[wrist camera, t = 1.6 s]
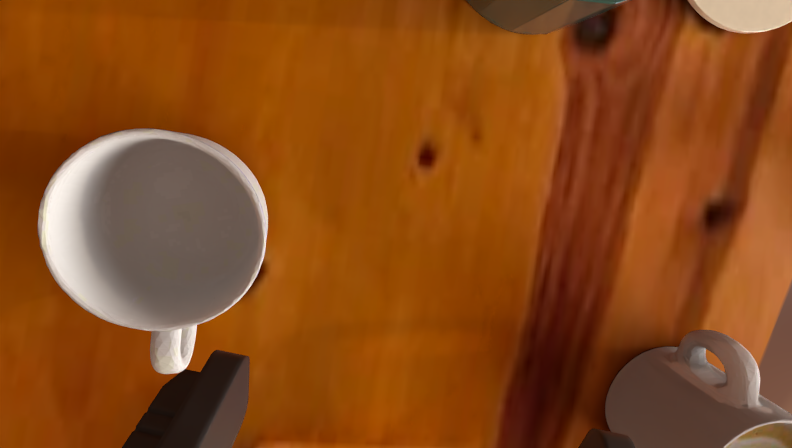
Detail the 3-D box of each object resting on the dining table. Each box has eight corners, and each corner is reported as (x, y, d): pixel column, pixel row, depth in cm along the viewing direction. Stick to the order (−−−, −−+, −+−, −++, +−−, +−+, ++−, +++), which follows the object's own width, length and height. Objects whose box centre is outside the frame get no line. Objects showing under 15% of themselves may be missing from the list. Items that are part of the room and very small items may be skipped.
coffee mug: (692, 452, 41) (803, 551, 32) (592, 447, 40) (677, 550, 30) (735, 313, 39) (869, 375, 29) (631, 302, 37) (737, 364, 28)
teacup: (123, 109, 29) (48, 104, 21) (294, 150, 31) (282, 157, 23) (95, 311, 31) (19, 372, 24) (256, 337, 33) (233, 401, 26)
